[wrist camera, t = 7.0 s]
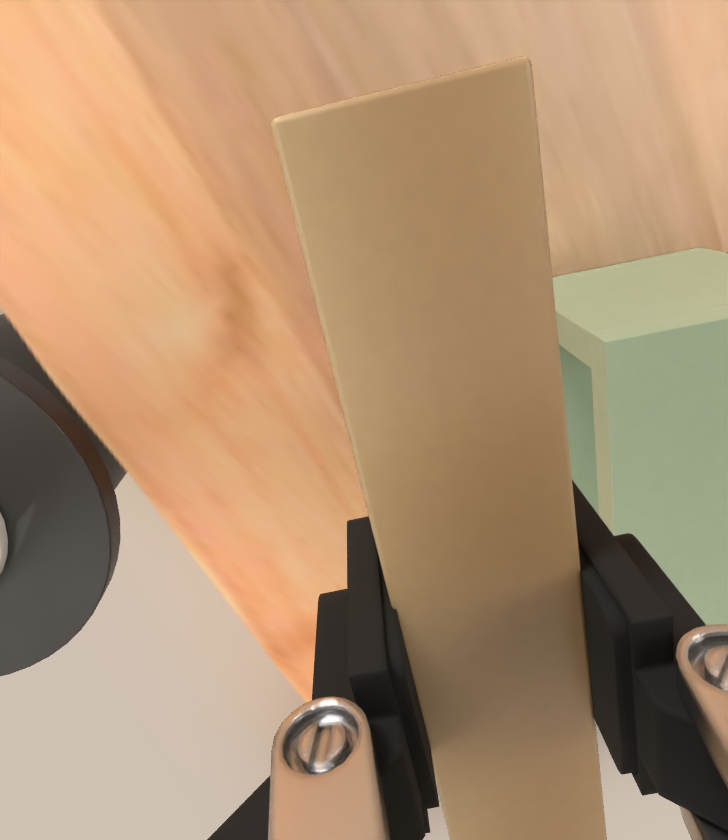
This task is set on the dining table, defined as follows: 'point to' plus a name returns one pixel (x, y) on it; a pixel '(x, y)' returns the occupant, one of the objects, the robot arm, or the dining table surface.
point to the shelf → (653, 409)
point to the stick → (459, 427)
